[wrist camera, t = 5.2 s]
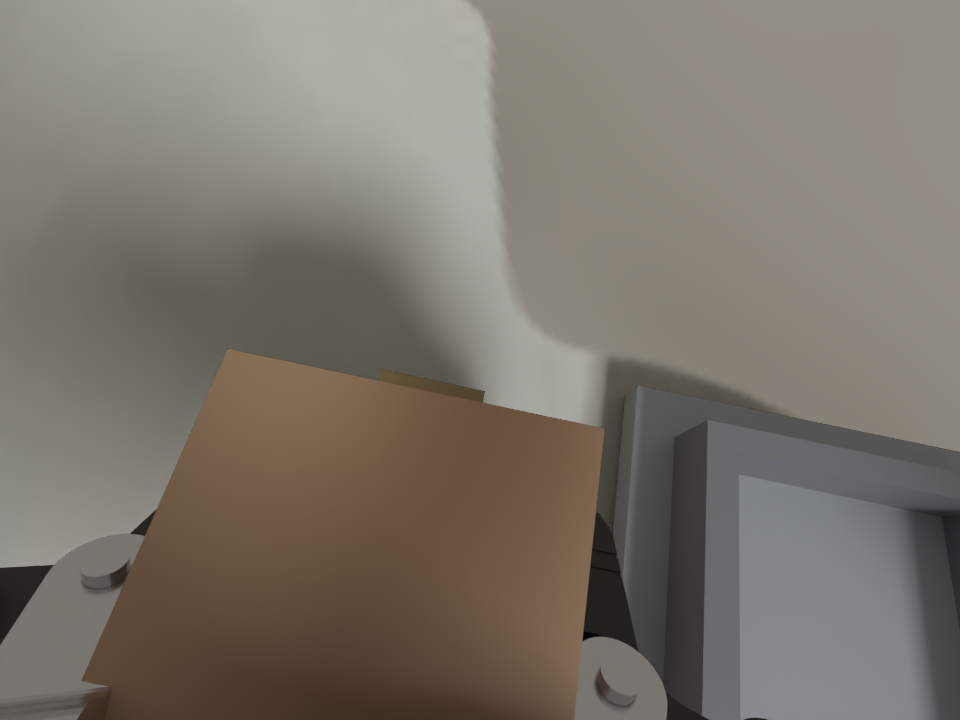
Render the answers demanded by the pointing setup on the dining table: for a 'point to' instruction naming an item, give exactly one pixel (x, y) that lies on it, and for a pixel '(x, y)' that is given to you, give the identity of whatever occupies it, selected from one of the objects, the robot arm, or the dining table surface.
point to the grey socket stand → (788, 563)
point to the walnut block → (358, 557)
